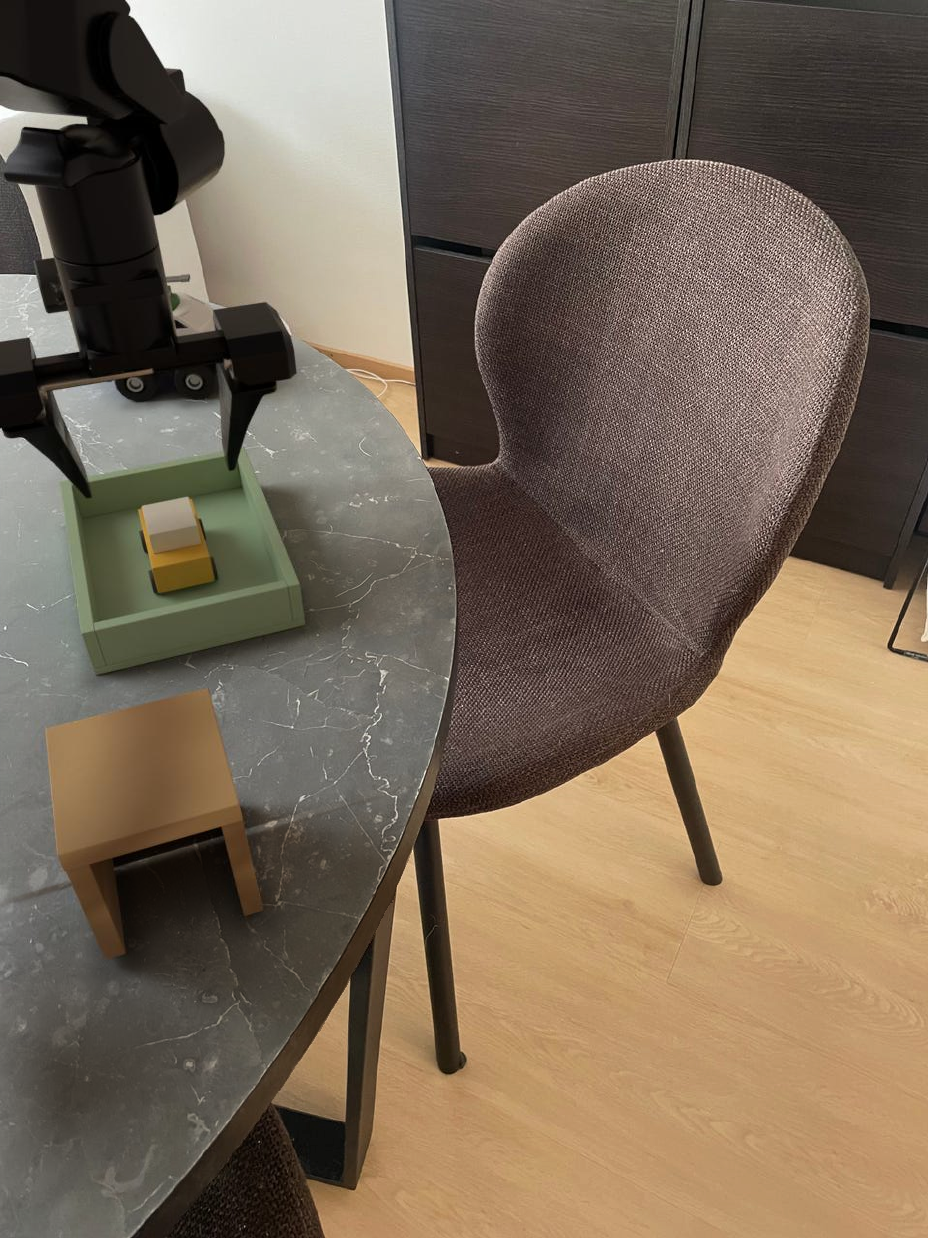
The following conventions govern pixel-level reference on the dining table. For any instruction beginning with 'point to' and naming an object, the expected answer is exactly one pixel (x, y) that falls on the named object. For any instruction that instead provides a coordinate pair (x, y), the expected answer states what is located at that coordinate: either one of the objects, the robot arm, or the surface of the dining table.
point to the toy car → (188, 320)
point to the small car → (175, 545)
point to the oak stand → (141, 798)
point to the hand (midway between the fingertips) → (160, 481)
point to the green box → (188, 617)
